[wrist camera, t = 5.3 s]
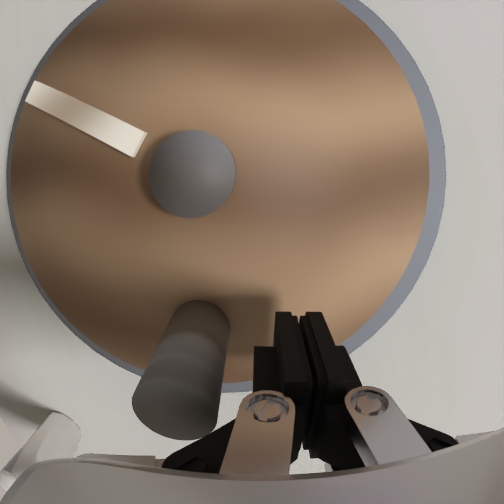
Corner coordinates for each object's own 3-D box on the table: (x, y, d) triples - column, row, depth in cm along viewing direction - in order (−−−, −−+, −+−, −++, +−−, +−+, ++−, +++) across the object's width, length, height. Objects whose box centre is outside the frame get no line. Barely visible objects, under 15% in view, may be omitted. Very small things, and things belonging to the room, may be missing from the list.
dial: (42, 25, 10) (-36, -12, 3) (400, 3, 9) (469, -61, 3) (58, 346, 14) (-3, 416, 8) (385, 359, 14) (435, 448, 8)
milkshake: (34, 416, 19) (-17, 491, 9) (54, 398, 18) (-6, 488, 8) (72, 449, 20) (32, 528, 10) (98, 436, 19) (53, 531, 9)
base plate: (489, 181, 13) (509, 185, 12) (228, 427, 18) (226, 447, 16) (208, -74, 9) (204, -92, 8) (-19, 202, 14) (-37, 207, 12)
